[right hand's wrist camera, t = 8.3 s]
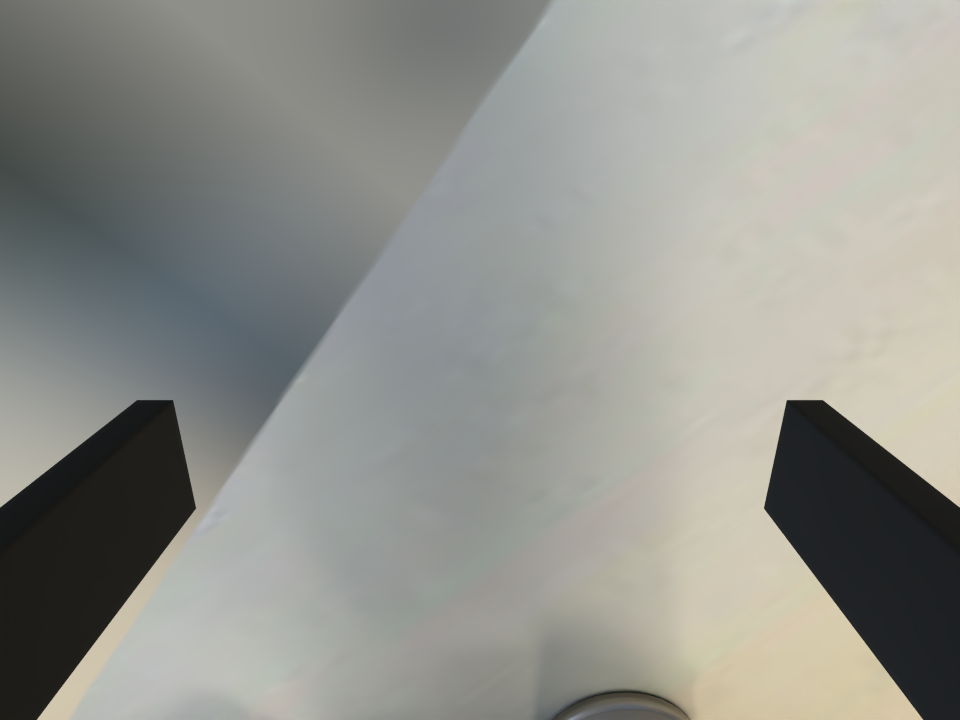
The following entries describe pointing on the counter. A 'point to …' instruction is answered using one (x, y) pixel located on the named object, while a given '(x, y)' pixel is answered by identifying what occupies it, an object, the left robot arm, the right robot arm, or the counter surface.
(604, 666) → the counter surface
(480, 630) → the counter surface
